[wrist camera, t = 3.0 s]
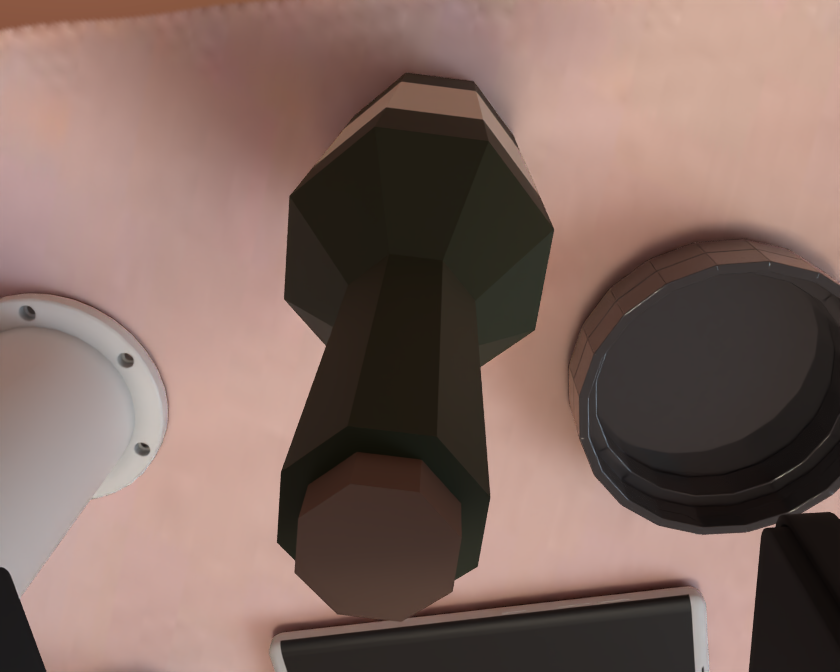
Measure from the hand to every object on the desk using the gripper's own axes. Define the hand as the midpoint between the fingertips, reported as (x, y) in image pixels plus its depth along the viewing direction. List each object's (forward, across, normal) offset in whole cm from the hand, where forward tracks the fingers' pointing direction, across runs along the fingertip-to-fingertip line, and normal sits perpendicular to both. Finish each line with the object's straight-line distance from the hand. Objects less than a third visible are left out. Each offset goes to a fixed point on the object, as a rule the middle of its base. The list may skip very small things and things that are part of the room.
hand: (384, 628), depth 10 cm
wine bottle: (+32, 0, 0) cm, 32 cm away
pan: (+32, -14, +13) cm, 37 cm away
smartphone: (+32, -1, +34) cm, 47 cm away
